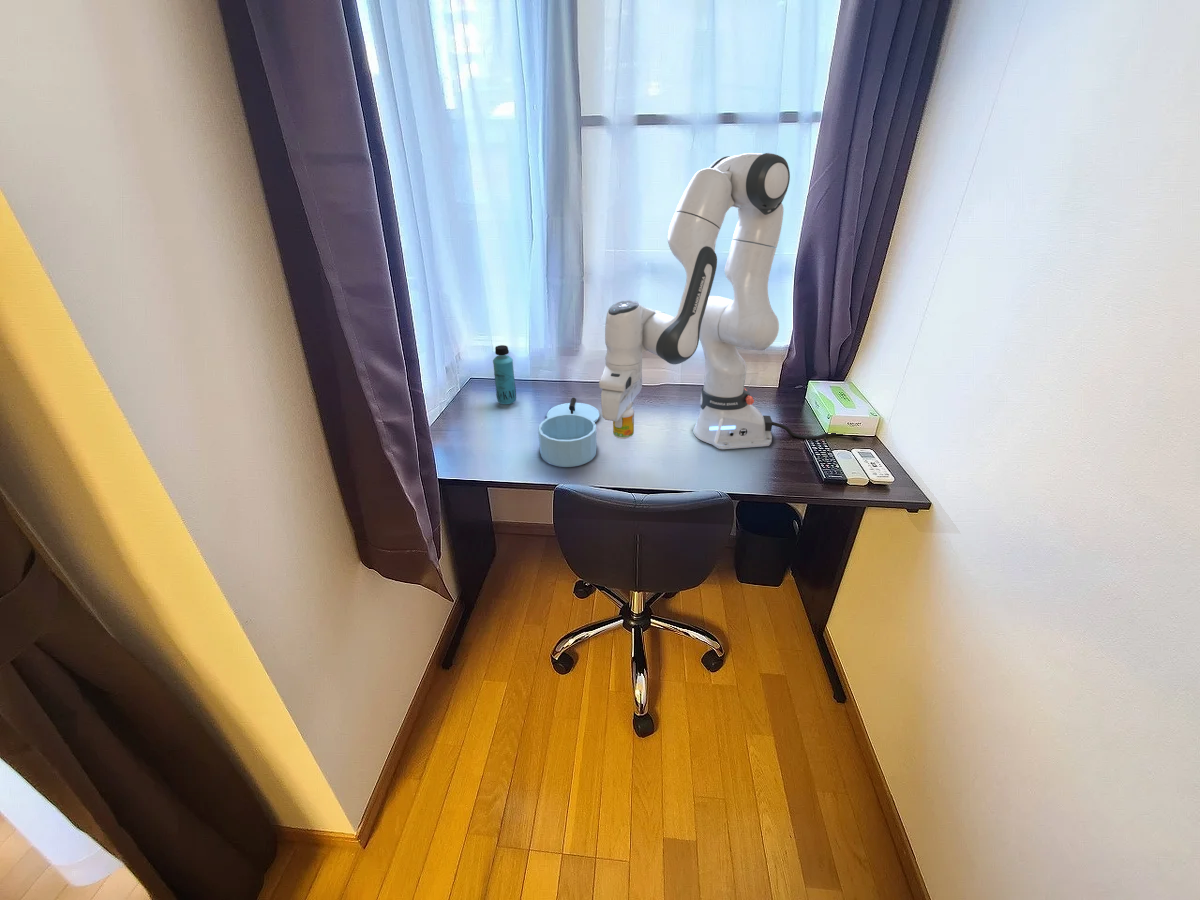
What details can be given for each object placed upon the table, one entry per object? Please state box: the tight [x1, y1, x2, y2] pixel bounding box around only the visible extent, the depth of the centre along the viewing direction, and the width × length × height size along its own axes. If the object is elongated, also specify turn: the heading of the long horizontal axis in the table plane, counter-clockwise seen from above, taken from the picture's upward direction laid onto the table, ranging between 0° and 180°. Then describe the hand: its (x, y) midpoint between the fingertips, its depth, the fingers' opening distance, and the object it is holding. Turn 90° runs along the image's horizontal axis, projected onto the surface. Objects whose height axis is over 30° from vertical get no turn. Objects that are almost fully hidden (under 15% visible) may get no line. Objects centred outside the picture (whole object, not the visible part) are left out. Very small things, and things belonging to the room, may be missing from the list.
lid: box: [546, 397, 600, 423], centre depth 158 cm, size 17×17×6 cm
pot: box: [537, 414, 598, 468], centre depth 139 cm, size 16×16×8 cm
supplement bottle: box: [612, 402, 635, 440], centre depth 129 cm, size 5×5×10 cm
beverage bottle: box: [492, 344, 517, 405], centre depth 162 cm, size 6×7×20 cm
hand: (623, 420), depth 130 cm, fingers closed on supplement bottle, 5 cm apart
